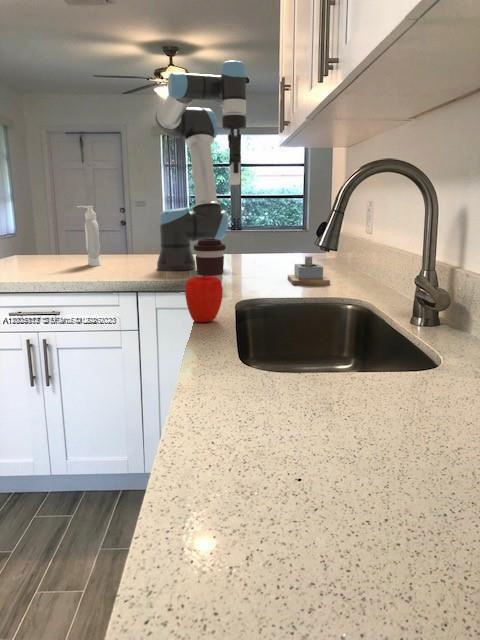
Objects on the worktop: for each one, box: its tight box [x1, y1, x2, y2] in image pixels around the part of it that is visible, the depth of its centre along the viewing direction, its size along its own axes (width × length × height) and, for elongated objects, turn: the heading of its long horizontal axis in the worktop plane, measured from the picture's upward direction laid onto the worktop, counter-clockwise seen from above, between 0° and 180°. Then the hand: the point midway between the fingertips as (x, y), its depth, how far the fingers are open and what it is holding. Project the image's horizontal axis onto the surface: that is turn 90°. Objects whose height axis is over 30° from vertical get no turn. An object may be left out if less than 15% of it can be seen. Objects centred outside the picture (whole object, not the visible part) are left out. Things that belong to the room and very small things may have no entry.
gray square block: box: [293, 263, 324, 280], centre depth 168 cm, size 8×8×4 cm
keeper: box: [287, 255, 331, 286], centre depth 168 cm, size 12×12×8 cm
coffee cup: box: [193, 239, 226, 285], centre depth 159 cm, size 10×10×15 cm
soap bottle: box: [76, 205, 102, 267], centre depth 210 cm, size 13×8×24 cm, turn 22°
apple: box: [184, 276, 223, 324], centre depth 117 cm, size 9×9×11 cm
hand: (234, 184), depth 165 cm, fingers open, 13 cm apart
